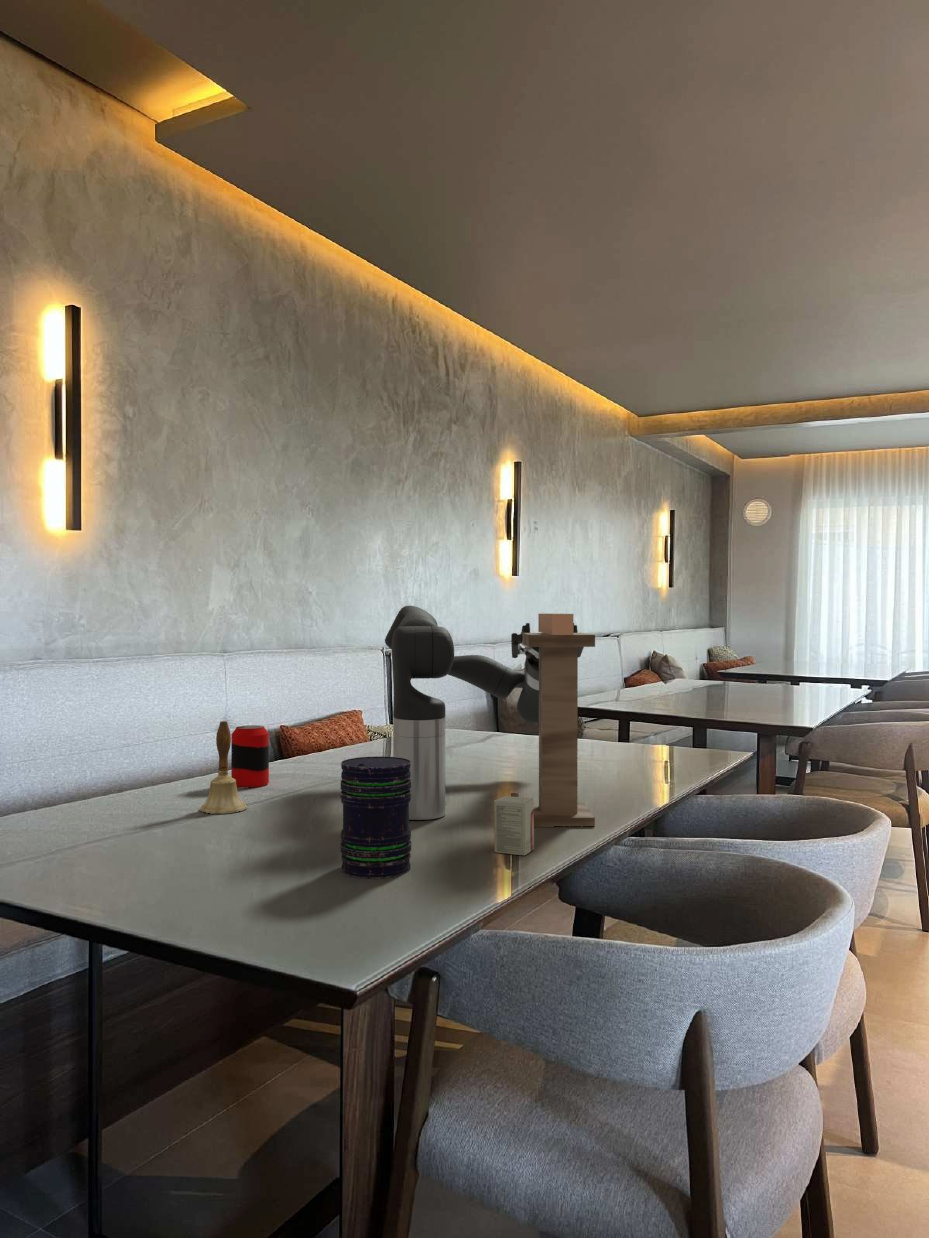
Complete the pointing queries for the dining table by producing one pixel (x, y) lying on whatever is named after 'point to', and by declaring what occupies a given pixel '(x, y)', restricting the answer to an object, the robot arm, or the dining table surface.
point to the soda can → (250, 756)
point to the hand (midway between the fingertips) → (550, 626)
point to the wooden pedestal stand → (559, 729)
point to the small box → (514, 825)
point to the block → (555, 624)
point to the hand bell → (223, 780)
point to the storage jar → (375, 817)
